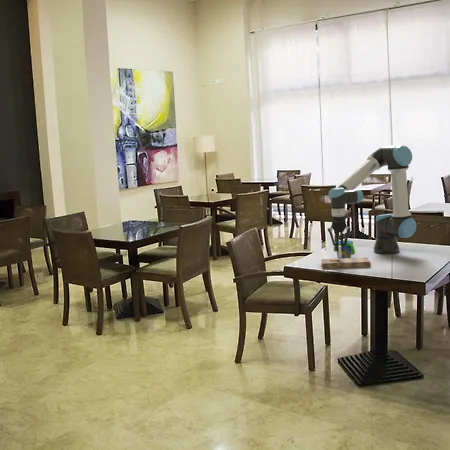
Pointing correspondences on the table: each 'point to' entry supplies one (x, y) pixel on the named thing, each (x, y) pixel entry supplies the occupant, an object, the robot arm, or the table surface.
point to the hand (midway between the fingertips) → (340, 257)
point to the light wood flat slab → (346, 263)
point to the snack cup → (346, 249)
